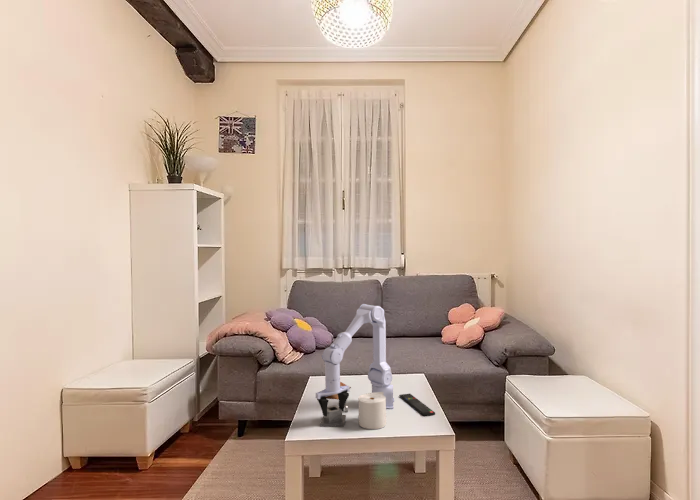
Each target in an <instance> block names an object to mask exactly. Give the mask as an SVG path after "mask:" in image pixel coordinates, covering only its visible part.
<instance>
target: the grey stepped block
mask: <svg viewBox="0 0 700 500" xmlns="http://www.w3.org/2000/svg"><path fill="white" fill-rule="evenodd" d="M342 415H343V412H342V409H341V408H339V405H336V404H335V405H328V406H327V416H324V419H326V420H327V421H328V422H329V423H331V422H335V421H340V420H342Z"/></svg>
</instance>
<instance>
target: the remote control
mask: <svg viewBox="0 0 700 500" xmlns="http://www.w3.org/2000/svg"><path fill="white" fill-rule="evenodd" d="M399 398H400V399H402V400H403V401H404V402H405V403H407V404H408V405H409V406H410V407H412V408H413V409H414V410H415V411H416V412H418V413H419V414H420V415H422V416H423V417H432V416H435V415H436V412H435V411H434V410H433V409H431V408H430V407H429V406H427V405H426V404H425V403H423V402H422V401H421V400H420V399H418V398H416V397H415V396H414V395H413V394H411V393H403V394H399Z"/></svg>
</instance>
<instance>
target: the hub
mask: <svg viewBox="0 0 700 500" xmlns="http://www.w3.org/2000/svg"><path fill="white" fill-rule="evenodd" d="M346 420H347V414H342V420H340V421H335V422H331V423H329V422H328V421H327V420H326V419H324V415H323V414H322V418H321V420H320V422H319V423H320V424H319V426H320V427H327V428H329V427H331V428H334V427H335V428H344V426H345V423H346Z"/></svg>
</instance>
